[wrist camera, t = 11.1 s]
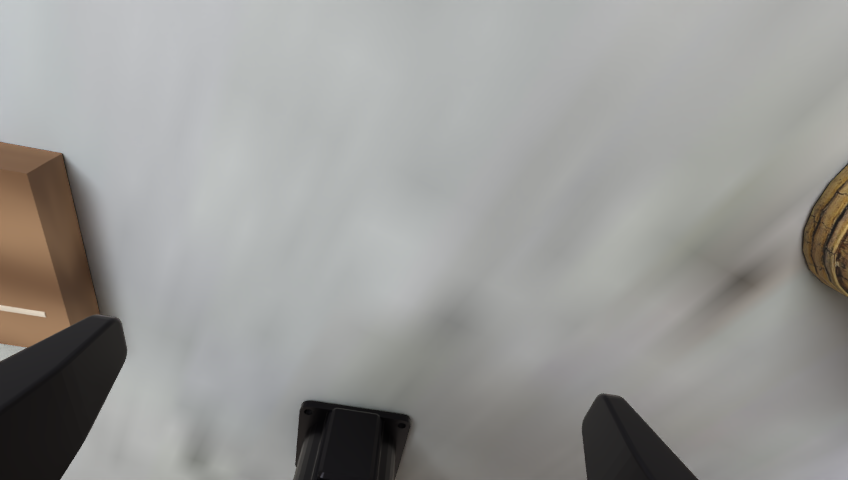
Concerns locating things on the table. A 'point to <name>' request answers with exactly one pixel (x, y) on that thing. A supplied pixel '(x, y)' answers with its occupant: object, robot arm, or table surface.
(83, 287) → the board
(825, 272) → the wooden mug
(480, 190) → the table surface
